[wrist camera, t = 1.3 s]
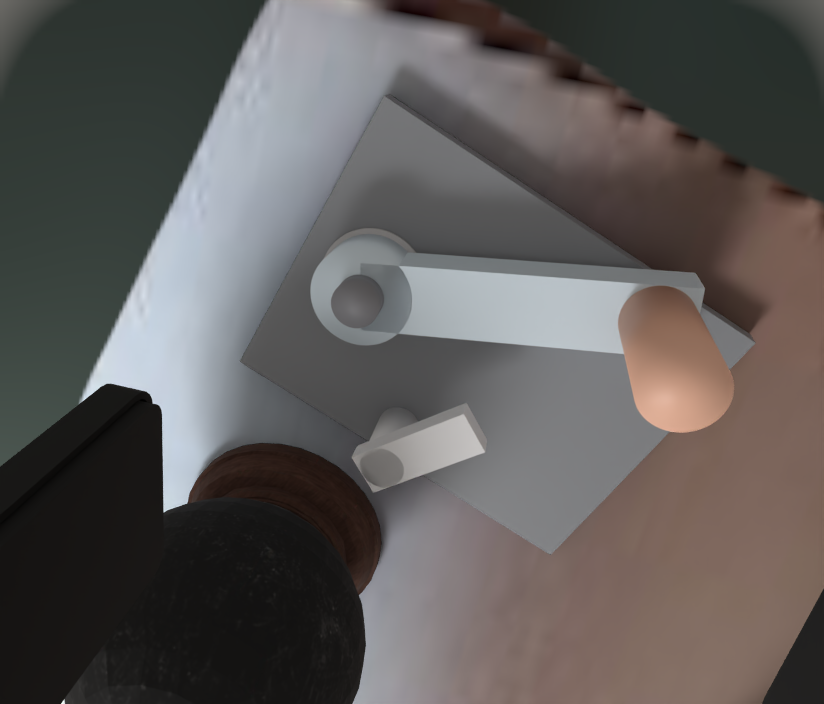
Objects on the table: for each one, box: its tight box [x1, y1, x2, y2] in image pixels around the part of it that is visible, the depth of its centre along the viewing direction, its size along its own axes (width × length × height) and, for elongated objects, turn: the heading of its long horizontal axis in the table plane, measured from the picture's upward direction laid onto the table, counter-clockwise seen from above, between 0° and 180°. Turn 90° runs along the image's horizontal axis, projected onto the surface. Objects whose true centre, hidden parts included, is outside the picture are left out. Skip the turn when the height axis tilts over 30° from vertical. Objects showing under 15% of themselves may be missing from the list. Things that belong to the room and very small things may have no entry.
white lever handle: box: [310, 234, 734, 433], centre depth 27 cm, size 16×4×8 cm, turn 89°
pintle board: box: [240, 94, 755, 555], centre depth 31 cm, size 18×14×5 cm
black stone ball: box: [65, 443, 382, 704], centre depth 33 cm, size 13×13×15 cm
